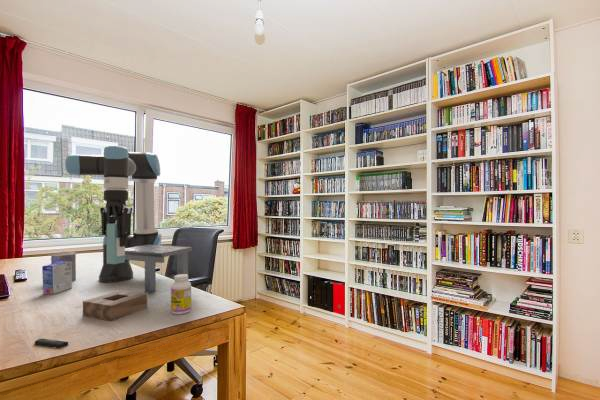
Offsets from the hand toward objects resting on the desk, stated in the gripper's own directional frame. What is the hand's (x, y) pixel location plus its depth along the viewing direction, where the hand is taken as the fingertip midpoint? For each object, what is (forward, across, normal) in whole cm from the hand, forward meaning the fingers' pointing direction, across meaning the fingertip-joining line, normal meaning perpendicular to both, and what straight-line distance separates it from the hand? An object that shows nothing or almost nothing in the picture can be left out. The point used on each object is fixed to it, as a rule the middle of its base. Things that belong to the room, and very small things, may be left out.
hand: (115, 255), depth 109 cm
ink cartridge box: (+20, -48, +9) cm, 53 cm away
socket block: (+20, 0, 0) cm, 20 cm away
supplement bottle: (+20, +22, +8) cm, 31 cm away
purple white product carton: (+20, -64, +21) cm, 70 cm away
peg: (+3, 0, 0) cm, 3 cm away
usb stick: (+21, +7, -24) cm, 33 cm away
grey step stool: (+20, 0, +17) cm, 26 cm away
